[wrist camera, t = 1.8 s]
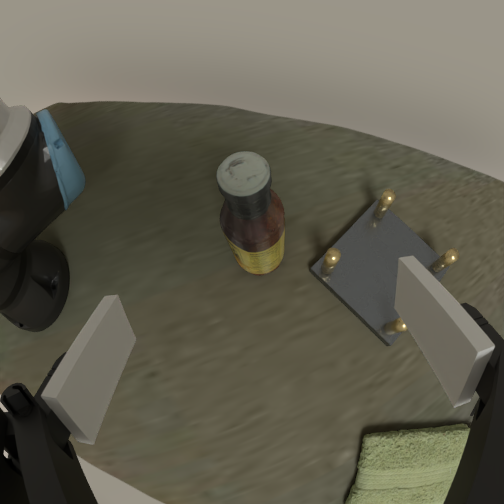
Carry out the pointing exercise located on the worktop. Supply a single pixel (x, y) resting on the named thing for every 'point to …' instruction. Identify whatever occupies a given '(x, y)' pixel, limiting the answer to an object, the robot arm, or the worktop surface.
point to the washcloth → (408, 465)
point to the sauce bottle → (251, 212)
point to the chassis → (376, 266)
